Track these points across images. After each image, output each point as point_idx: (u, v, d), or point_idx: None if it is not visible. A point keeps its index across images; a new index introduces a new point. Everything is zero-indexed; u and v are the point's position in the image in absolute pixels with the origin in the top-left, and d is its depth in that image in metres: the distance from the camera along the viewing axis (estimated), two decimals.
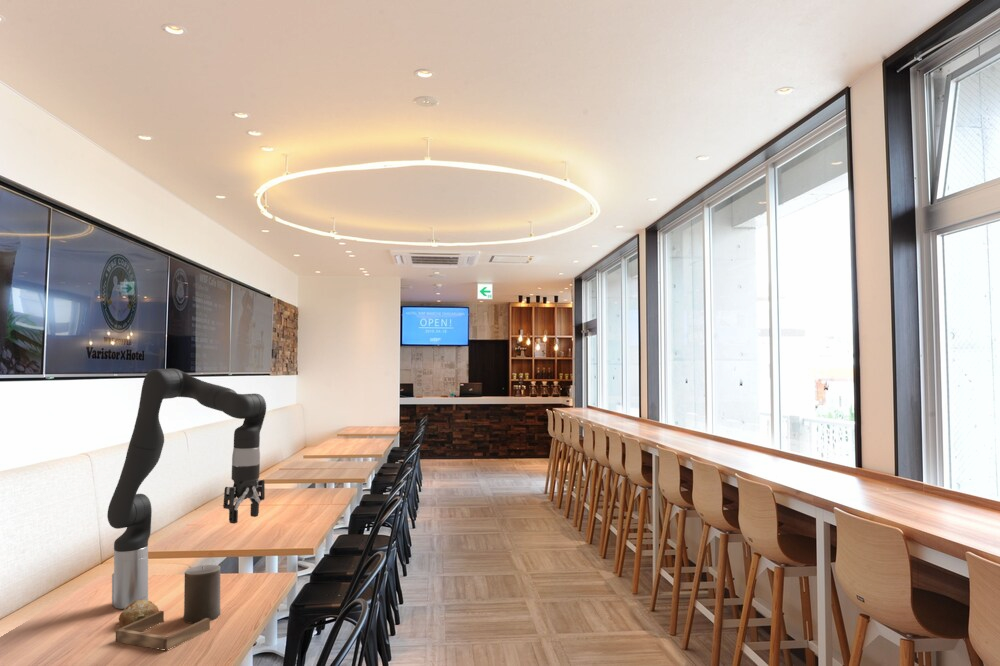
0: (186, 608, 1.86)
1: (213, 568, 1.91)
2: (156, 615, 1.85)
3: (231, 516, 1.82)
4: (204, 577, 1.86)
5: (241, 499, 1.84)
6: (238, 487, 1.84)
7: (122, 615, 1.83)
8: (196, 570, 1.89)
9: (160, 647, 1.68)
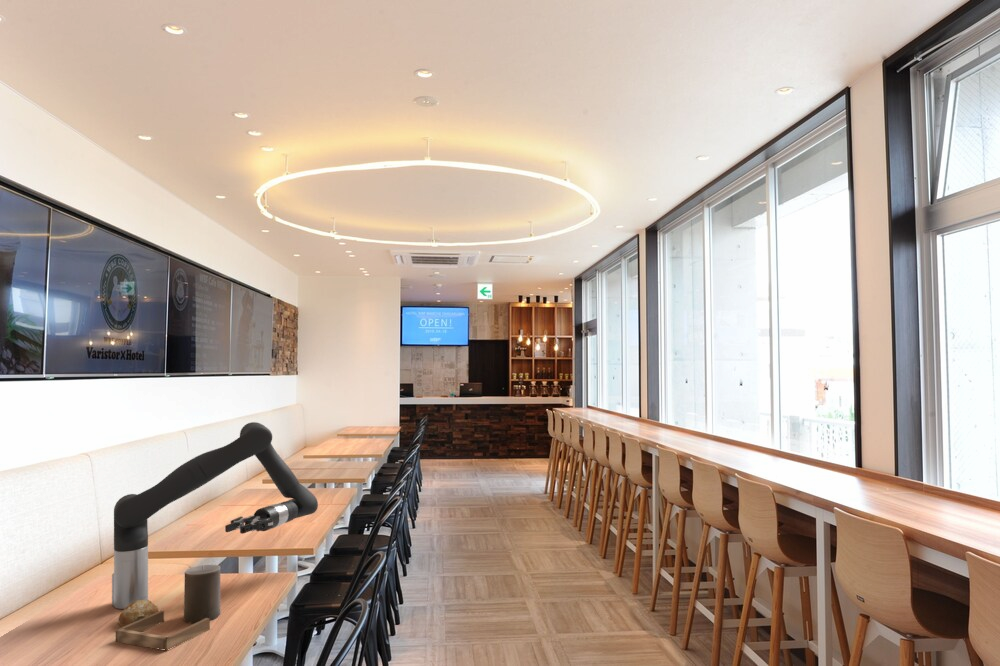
0: (186, 608, 1.86)
1: (213, 568, 1.91)
2: (156, 615, 1.85)
3: (248, 529, 2.03)
4: (204, 577, 1.86)
5: None
6: None
7: (122, 615, 1.83)
8: (196, 570, 1.89)
9: (160, 647, 1.68)
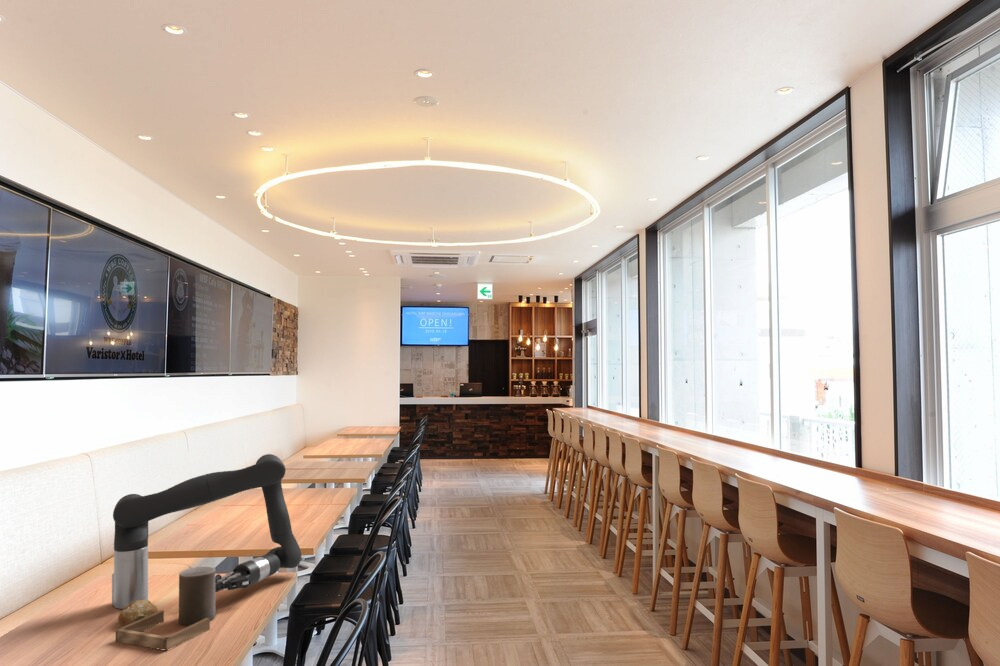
0: (180, 610, 1.85)
1: (208, 570, 1.89)
2: (156, 615, 1.85)
3: (219, 588, 1.94)
4: (198, 579, 1.85)
5: None
6: None
7: (122, 615, 1.83)
8: (191, 572, 1.88)
9: (160, 647, 1.68)
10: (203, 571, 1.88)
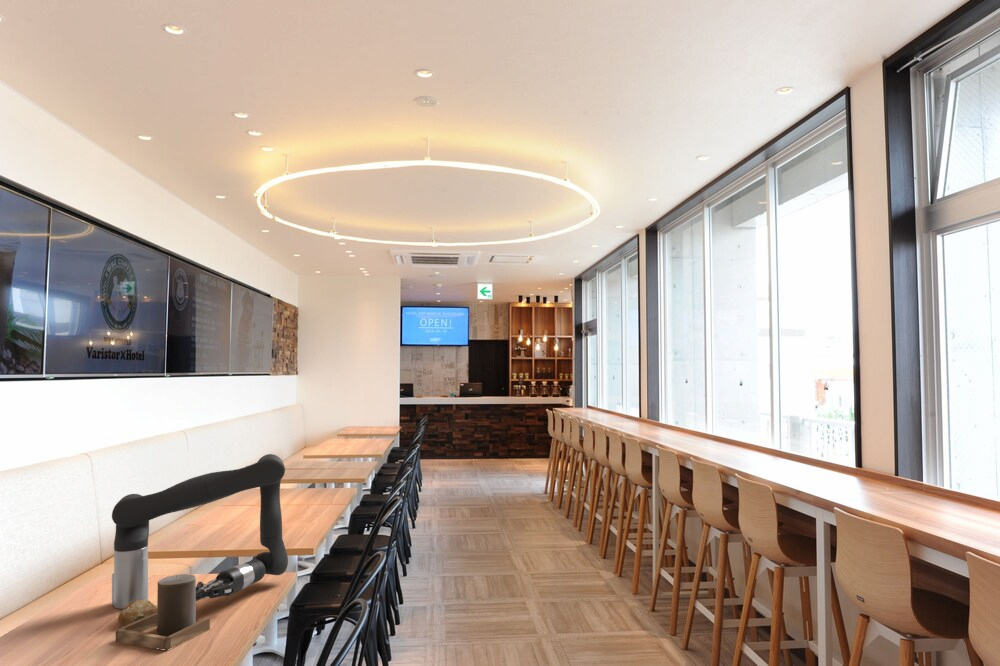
0: (158, 619, 1.78)
1: (187, 578, 1.82)
2: (156, 615, 1.85)
3: (200, 597, 1.88)
4: (177, 587, 1.78)
5: None
6: None
7: (121, 615, 1.83)
8: (170, 580, 1.81)
9: (160, 647, 1.68)
10: (182, 579, 1.81)
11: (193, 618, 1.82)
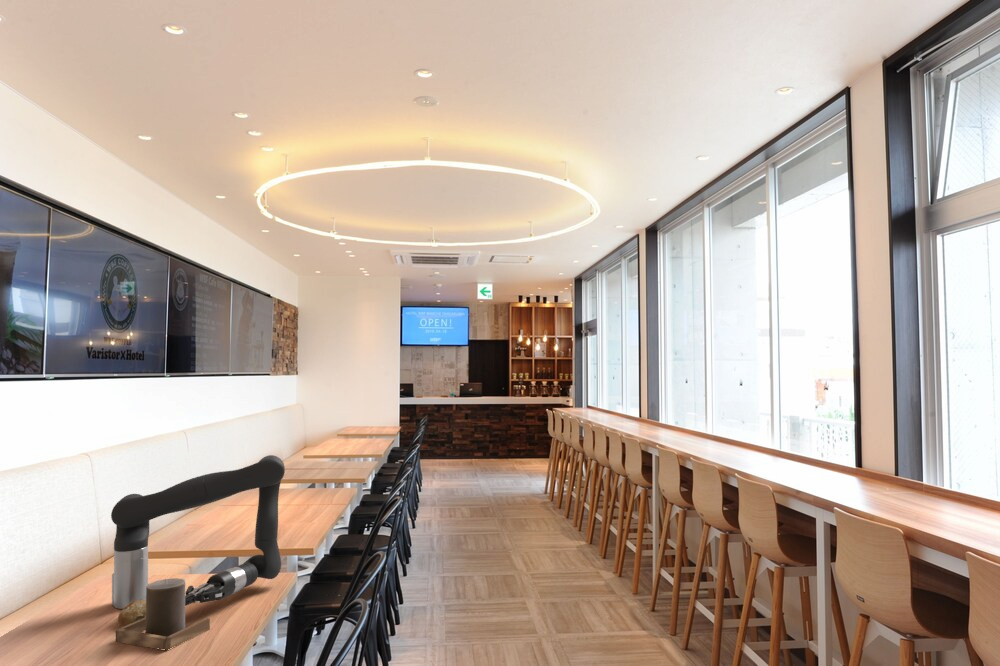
0: (147, 625, 1.75)
1: (177, 582, 1.79)
2: None
3: (190, 601, 1.84)
4: (166, 592, 1.75)
5: None
6: None
7: (121, 615, 1.83)
8: (159, 584, 1.78)
9: (160, 647, 1.68)
10: (172, 583, 1.78)
11: (182, 623, 1.78)
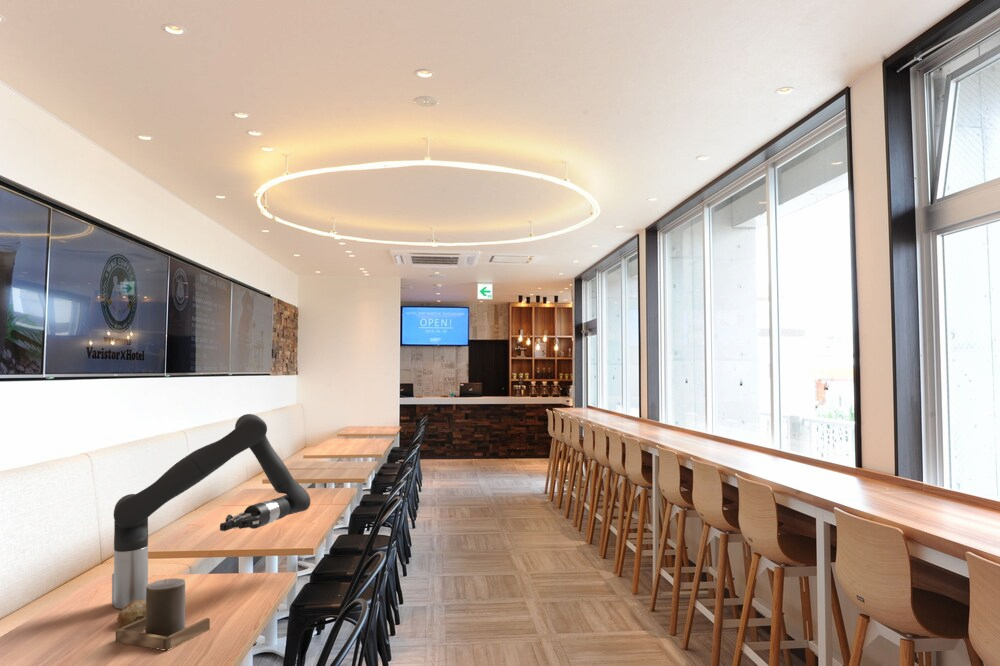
0: (147, 625, 1.75)
1: (177, 582, 1.79)
2: None
3: (230, 526, 2.00)
4: (165, 592, 1.75)
5: None
6: None
7: (121, 615, 1.83)
8: (158, 584, 1.78)
9: (160, 647, 1.68)
10: (172, 583, 1.78)
11: (182, 623, 1.78)
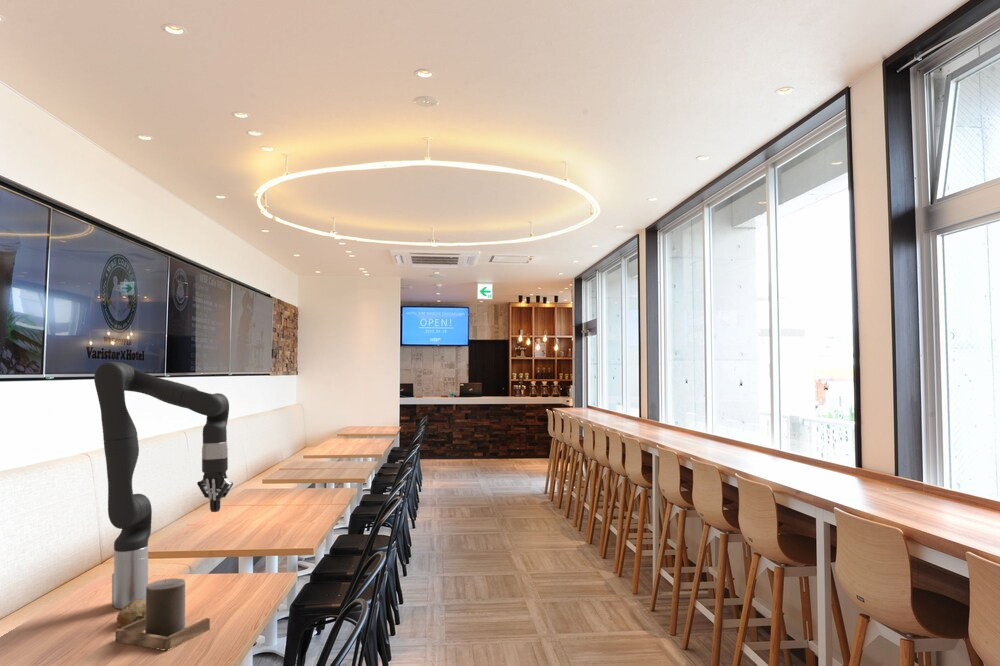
0: (147, 625, 1.75)
1: (177, 582, 1.79)
2: None
3: (218, 505, 2.06)
4: (165, 592, 1.75)
5: None
6: None
7: (120, 614, 1.84)
8: (158, 584, 1.78)
9: (160, 647, 1.68)
10: (172, 584, 1.78)
11: (182, 623, 1.78)
